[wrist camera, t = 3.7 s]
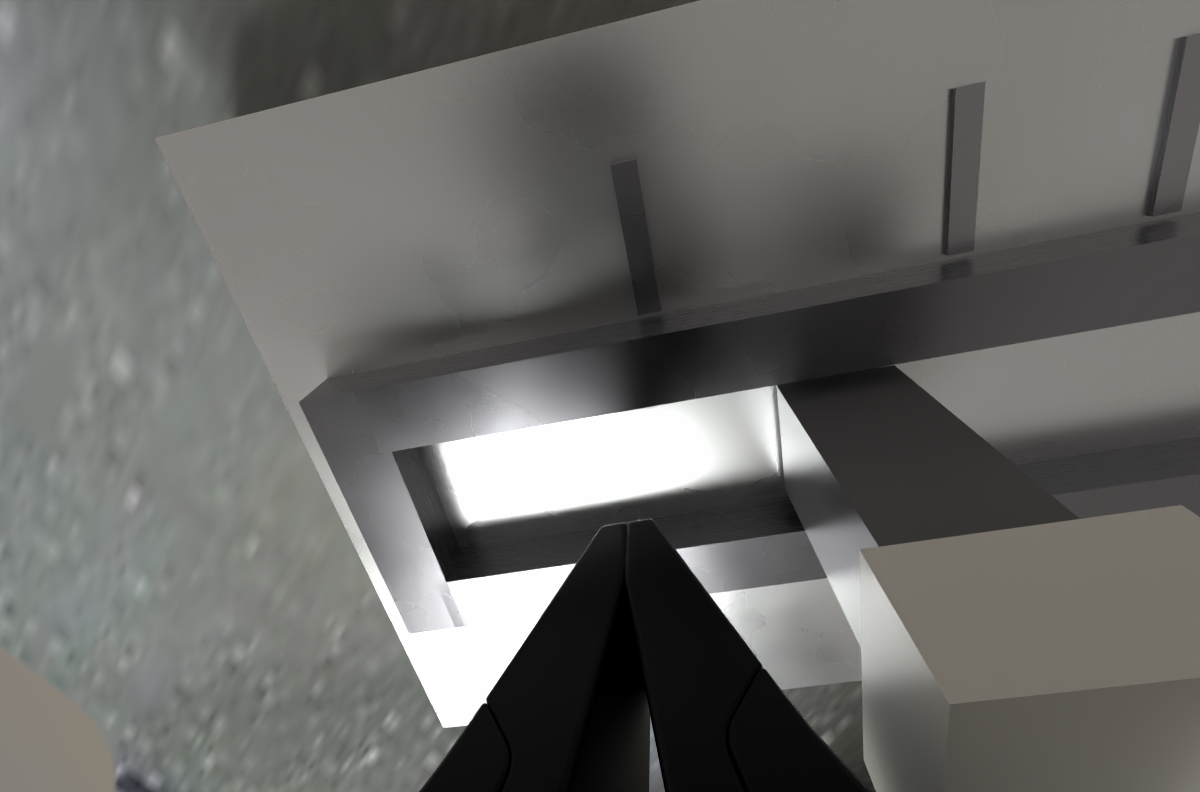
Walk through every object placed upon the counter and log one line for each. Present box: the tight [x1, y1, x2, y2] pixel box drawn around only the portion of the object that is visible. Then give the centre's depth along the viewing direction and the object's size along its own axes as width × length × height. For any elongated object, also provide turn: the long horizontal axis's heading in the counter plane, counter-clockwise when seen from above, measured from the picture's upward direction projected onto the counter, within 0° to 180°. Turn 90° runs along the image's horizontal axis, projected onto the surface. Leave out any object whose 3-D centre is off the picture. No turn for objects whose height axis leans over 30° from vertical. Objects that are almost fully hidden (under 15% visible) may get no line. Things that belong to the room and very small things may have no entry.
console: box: [154, 0, 1200, 728], centre depth 11 cm, size 14×24×3 cm, turn 102°
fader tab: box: [776, 365, 1200, 792], centre depth 7 cm, size 3×3×6 cm
